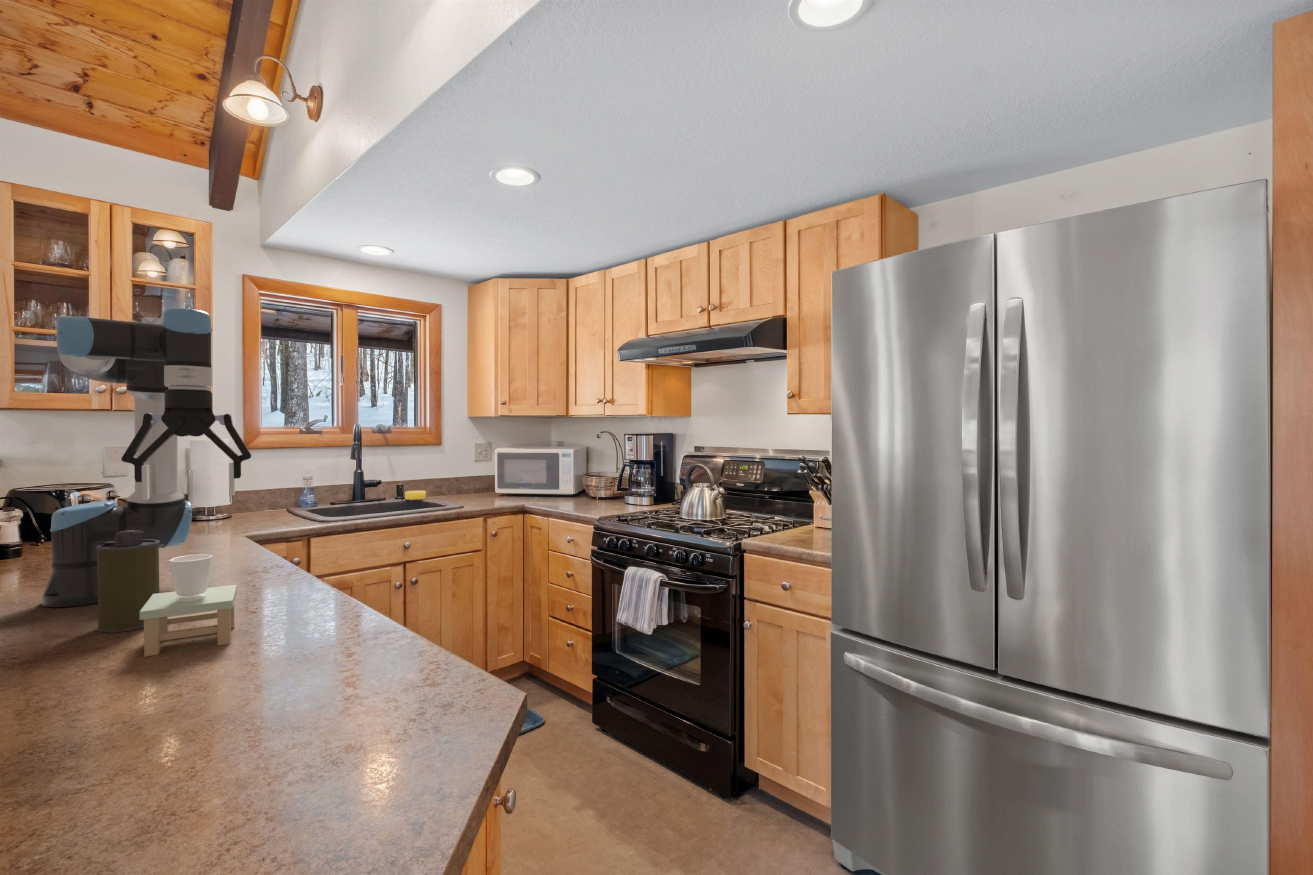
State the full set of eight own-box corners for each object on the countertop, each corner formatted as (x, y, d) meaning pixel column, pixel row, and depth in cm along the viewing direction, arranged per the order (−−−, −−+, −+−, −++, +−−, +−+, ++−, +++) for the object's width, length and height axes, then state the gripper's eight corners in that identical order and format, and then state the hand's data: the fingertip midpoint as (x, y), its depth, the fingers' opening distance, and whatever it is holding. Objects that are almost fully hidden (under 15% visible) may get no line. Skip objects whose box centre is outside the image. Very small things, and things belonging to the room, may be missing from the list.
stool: (153, 635, 125) (153, 593, 125) (237, 624, 132) (237, 584, 132) (140, 657, 113) (139, 611, 113) (233, 643, 120) (232, 600, 120)
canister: (173, 617, 137) (172, 527, 136) (129, 633, 126) (127, 535, 126) (128, 616, 138) (127, 526, 138) (81, 632, 128) (79, 535, 127)
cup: (170, 606, 116) (170, 563, 116) (166, 595, 124) (165, 555, 124) (216, 598, 121) (215, 557, 121) (209, 589, 128) (208, 550, 128)
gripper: (99, 386, 112) (102, 503, 113) (263, 390, 125) (264, 495, 126) (109, 388, 119) (111, 498, 119) (264, 391, 132) (265, 491, 132)
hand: (190, 497), depth 122 cm, fingers open, 13 cm apart
